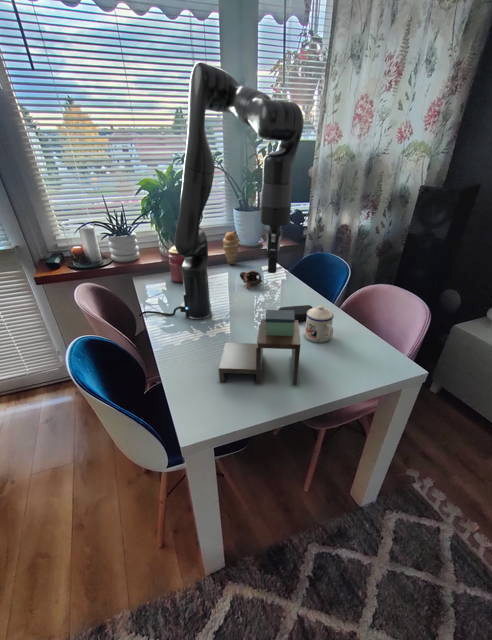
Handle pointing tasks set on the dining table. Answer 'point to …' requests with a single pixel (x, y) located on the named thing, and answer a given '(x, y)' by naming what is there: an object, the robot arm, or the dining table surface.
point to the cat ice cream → (230, 246)
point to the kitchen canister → (175, 264)
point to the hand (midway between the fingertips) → (272, 267)
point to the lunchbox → (280, 322)
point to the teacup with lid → (319, 324)
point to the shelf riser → (258, 353)
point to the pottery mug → (251, 278)
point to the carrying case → (298, 311)
